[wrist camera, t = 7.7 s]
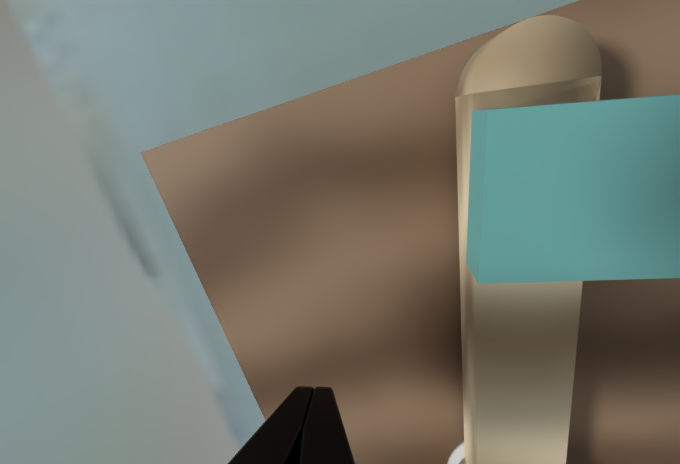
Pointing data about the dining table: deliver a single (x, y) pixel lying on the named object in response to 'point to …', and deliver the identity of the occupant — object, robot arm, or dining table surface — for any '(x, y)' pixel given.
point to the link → (529, 297)
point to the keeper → (574, 193)
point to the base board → (408, 254)
